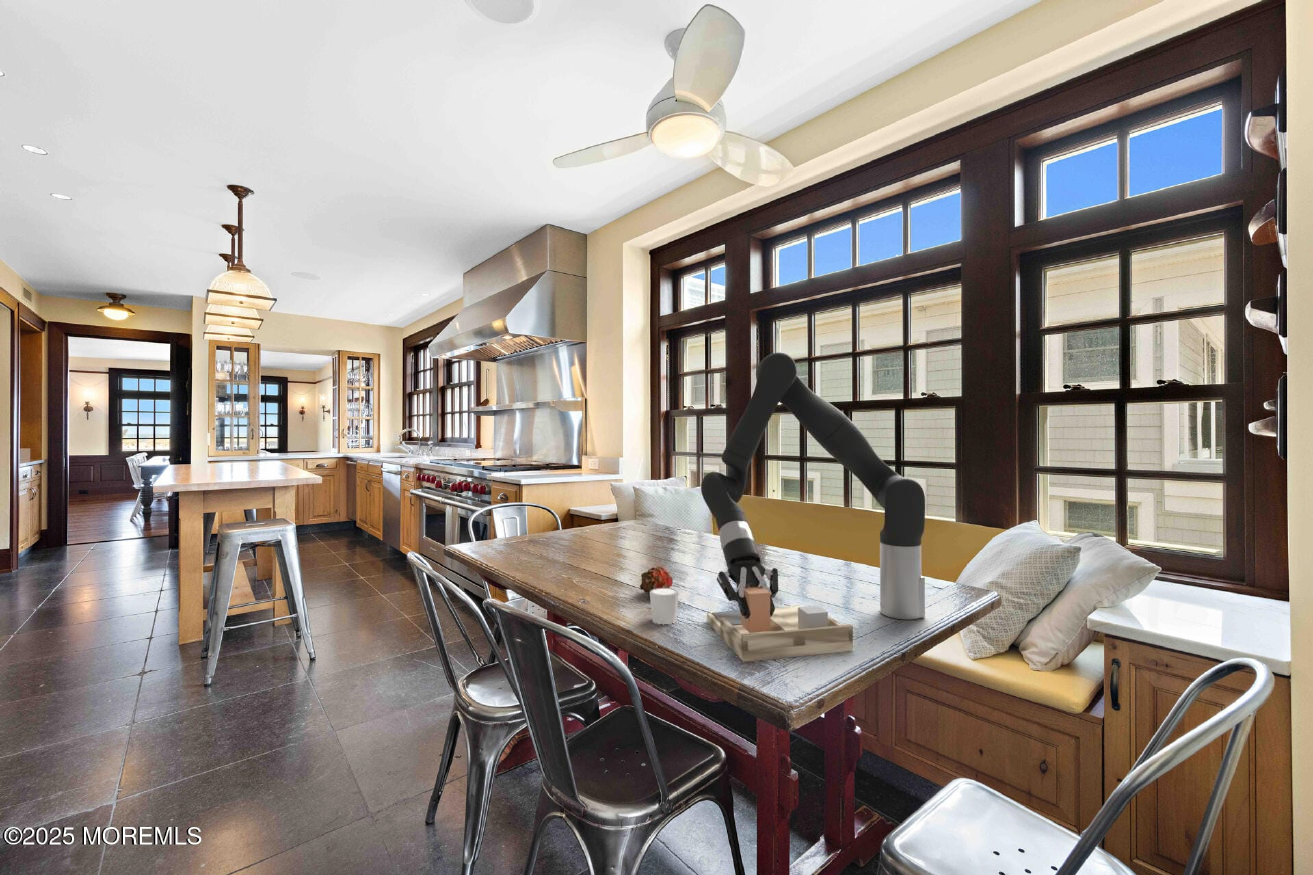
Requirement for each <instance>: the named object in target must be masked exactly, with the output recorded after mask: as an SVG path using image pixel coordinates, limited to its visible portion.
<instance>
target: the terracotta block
mask: <svg viewBox="0 0 1313 875" xmlns="http://www.w3.org/2000/svg"><path fill="white" fill-rule="evenodd" d="M744 592H745V596H744V598H746V600H747V604H748V607H749V611H750V616H749V618H747V619H745V618H744V616H742V626H743V627H744V628H745V629H746V630H747V631H748V632H749V633H755V632H766V631H770V592H769V591H767V590H766V589H764V588H761V587H748V588H745V590H744Z"/></svg>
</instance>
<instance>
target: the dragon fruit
mask: <svg viewBox="0 0 1313 875" xmlns="http://www.w3.org/2000/svg"><path fill="white" fill-rule="evenodd" d="M640 575H641V579H640V580H641V583H640V585H639V589H640V590H642V591H643V592H644V593H646V594H648V595H649V596H650V591H651V590H653V589H657V588H671V587H672V586H673V578H672V576H671V575H670V573H669V572H668V571H667V570H666V569H664V567H662V566H661V565H659V566H656V567H652V568H650V569H648V570H647V571H645V572H643V573H641V574H640Z"/></svg>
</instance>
